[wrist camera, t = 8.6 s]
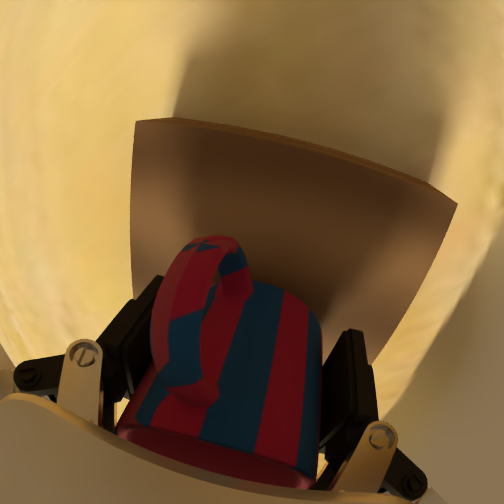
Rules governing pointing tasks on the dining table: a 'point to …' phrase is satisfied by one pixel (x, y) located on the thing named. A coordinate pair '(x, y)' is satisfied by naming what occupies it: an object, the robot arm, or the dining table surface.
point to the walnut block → (288, 220)
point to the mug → (230, 372)
